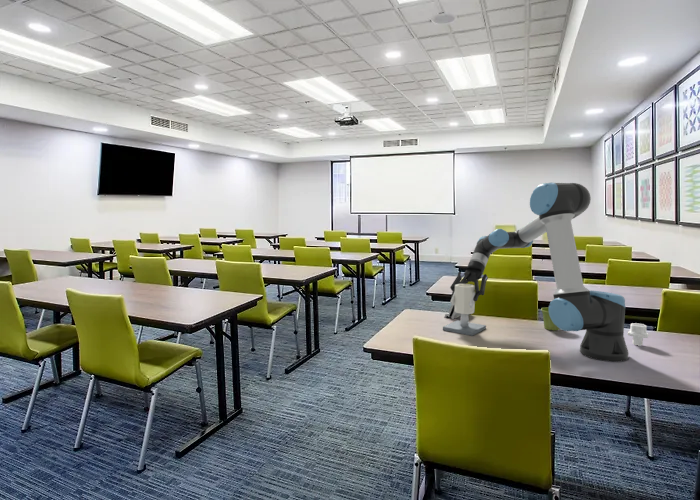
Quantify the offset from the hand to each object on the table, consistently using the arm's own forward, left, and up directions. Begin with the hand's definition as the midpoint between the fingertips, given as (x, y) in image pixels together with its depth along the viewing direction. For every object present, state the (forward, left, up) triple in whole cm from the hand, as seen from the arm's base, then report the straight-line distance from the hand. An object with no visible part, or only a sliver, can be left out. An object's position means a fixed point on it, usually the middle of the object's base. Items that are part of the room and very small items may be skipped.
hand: (461, 304), depth 183 cm
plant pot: (-30, -28, -12) cm, 43 cm away
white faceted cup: (0, -3, -4) cm, 5 cm away
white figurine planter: (-62, -25, -12) cm, 68 cm away
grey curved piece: (+13, -24, -12) cm, 30 cm away
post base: (0, -3, -12) cm, 12 cm away
